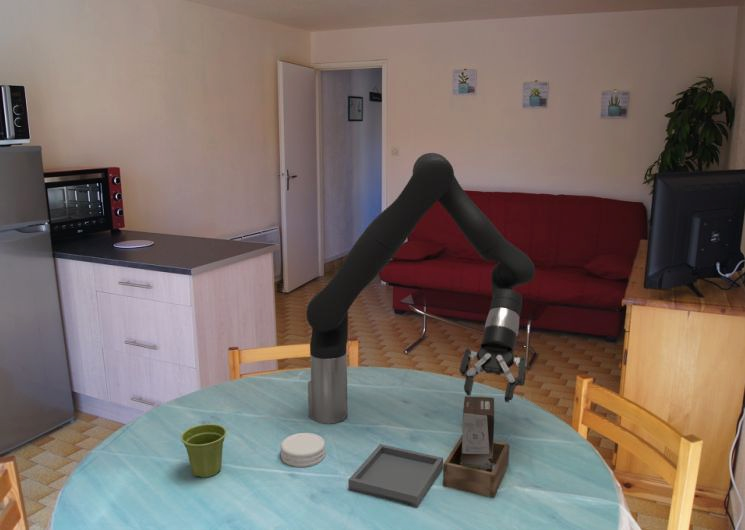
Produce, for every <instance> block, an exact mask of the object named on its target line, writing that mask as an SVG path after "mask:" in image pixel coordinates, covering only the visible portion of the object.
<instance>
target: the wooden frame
mask: <svg viewBox="0 0 745 530" xmlns="http://www.w3.org/2000/svg"><path fill="white" fill-rule="evenodd" d="M509 460H510V443H507V442H501V441H496V440H494V441H493V462H492V465H493V464H494V467H493V468H492V472H488V471H483V470H479V469H474V468H470V467H465V466H461V465H462V435H461V436H460V438H458V439H457V442H456V444H455V445H454V447H453V448H452V450H451V452H450V453H449V454H448V456H447V458H446V459H445V460H444V461H443V468H442V486H443V487H447V488H451V489H454V490H460V491H462V492H463V491H464V492H468V493H472V494H475V495H480V496H484V497H488V498H492V499H495V497H496V494H497V491H498V489H499V487H500V485H501V483H502V480H503V479H504V475H505V473H506V471H507V470H508V467H509V465H510V464H509Z"/></svg>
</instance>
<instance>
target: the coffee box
mask: <svg viewBox="0 0 745 530" xmlns="http://www.w3.org/2000/svg"><path fill="white" fill-rule="evenodd" d="M463 400H464V401H463V410H462V434H461V436H462V462H461V464H460V465H461V466H465V467H470V468H474V469H479V470H483V471H488V472H492V471H493V463H492V462H493V441H495V440H494V436H495V435H494V433H495V432H494V431H495V398H494V397H491V396H490V397H487V396H471V395H470V396H469V395H465V396H464V398H463Z"/></svg>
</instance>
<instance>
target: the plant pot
mask: <svg viewBox="0 0 745 530" xmlns="http://www.w3.org/2000/svg"><path fill="white" fill-rule="evenodd" d="M226 436H227V429H226V428H225V427H224V426H222V425H219V424H216V423H215V424H213V423H210V424H209V423H207V424H206V423H205V424H199V425H196V426H192V427H190V428H188V429H186V430H185V431H183V432H182V434H181V436H180V440H181V442H182V443H183V445H184V447H185V448H186V452H187V453H186V454H187V455H188V456H187V457H188V461H189V464H190V470H191V474H192V475H193V476H194V477H200V478H202V479H203V478H210V477H213V476H215V475H217V474H218V473H219V472H220V471H221V470H222V461H223V460H222V459H223V447H224V441H225V437H226Z"/></svg>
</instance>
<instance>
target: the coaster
mask: <svg viewBox="0 0 745 530" xmlns="http://www.w3.org/2000/svg"><path fill="white" fill-rule="evenodd" d="M325 441H326V440H325V439H324V438H323V437H321V436H320V435H319V434H317V433H316V434H315V433H312V432H301V433H294V434H291V435H289V436H287V437H285V439H283V440H282V441H281V443H280V457H281V460H282V462H284V463H285V464H286V465H288V466H291V467H296V468H305V467H307V468H308V467H311V466H312V467H313V466H314V465H317V464H319V463H320V462H322V461H323V460H324V459H325V457H326V442H325Z"/></svg>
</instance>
